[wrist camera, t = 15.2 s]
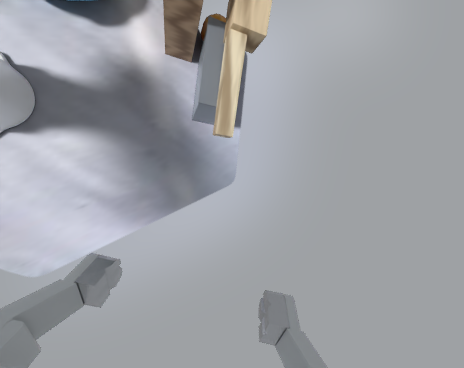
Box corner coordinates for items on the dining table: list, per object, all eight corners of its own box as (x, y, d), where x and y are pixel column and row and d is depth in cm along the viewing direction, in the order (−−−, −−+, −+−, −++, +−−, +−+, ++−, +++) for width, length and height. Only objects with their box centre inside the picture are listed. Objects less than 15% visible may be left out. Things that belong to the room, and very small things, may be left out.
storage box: (191, 120, 53) (198, 102, 40) (198, 56, 53) (208, 15, 39) (219, 126, 56) (235, 111, 42) (226, 65, 56) (244, 30, 42)
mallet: (218, 133, 37) (250, 139, 39) (239, -27, 33) (273, -10, 35) (211, 135, 43) (239, 140, 45) (228, 2, 39) (257, 15, 42)
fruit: (224, 63, 54) (218, 36, 46) (202, 55, 56) (193, 27, 48) (238, 41, 55) (234, 11, 47) (215, 34, 57) (208, 4, 49)
